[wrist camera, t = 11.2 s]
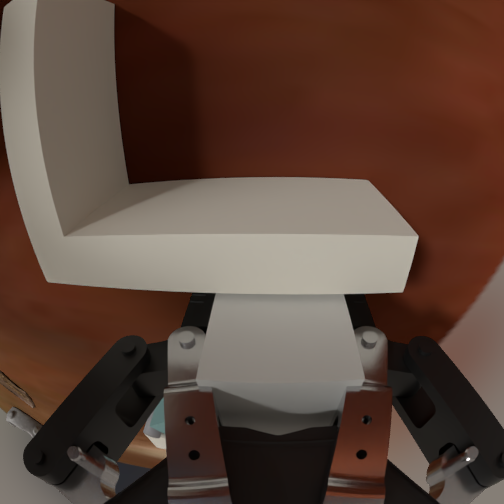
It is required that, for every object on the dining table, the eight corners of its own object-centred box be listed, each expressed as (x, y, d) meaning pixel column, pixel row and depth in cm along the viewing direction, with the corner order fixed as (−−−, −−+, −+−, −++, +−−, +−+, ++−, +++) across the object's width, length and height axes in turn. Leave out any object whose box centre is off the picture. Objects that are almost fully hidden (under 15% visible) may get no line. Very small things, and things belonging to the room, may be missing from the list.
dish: (55, 439, 49) (50, 453, 45) (15, 412, 46) (8, 424, 42) (56, 432, 43) (49, 448, 39) (9, 398, 39) (1, 414, 35)
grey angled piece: (80, 18, 8) (4, 7, 3) (365, -16, 7) (415, -65, 2) (171, 396, 22) (156, 447, 18) (320, 404, 21) (323, 459, 17)
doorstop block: (230, 234, 12) (195, 379, 6) (325, 235, 12) (365, 378, 6) (236, 305, 14) (218, 437, 8) (316, 305, 14) (333, 437, 8)
